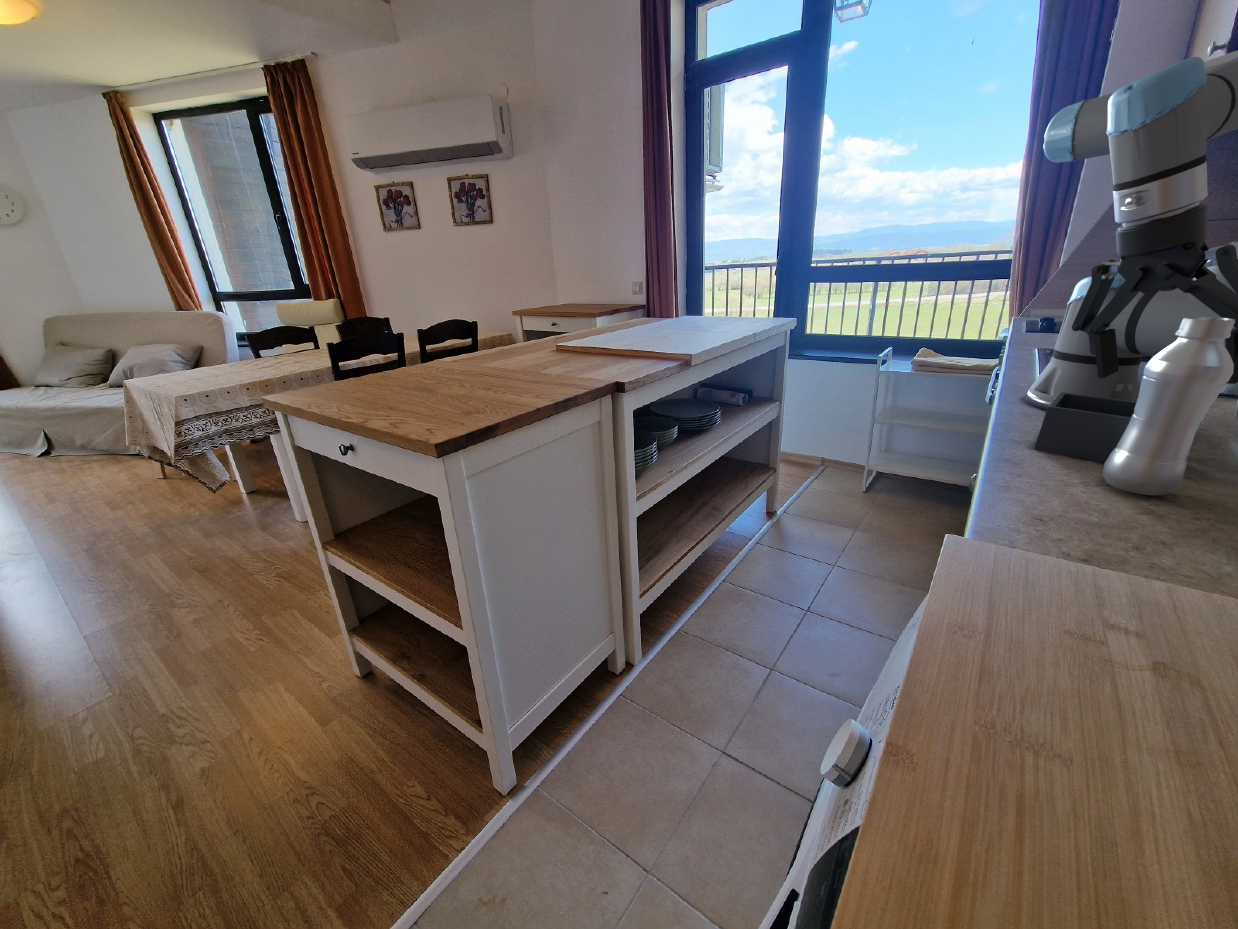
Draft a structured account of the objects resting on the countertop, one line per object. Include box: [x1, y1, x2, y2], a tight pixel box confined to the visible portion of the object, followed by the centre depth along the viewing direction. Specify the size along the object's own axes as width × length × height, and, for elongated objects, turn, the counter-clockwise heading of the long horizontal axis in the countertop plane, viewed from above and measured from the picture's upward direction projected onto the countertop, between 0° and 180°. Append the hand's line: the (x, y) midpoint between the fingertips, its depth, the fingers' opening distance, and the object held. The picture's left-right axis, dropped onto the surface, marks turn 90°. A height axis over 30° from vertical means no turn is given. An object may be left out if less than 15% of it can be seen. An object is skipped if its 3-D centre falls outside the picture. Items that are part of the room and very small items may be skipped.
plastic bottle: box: [1102, 317, 1235, 496], centre depth 54 cm, size 6×7×20 cm
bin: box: [1033, 392, 1136, 464], centre depth 69 cm, size 11×11×6 cm
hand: (1167, 377), depth 65 cm, fingers open, 13 cm apart
